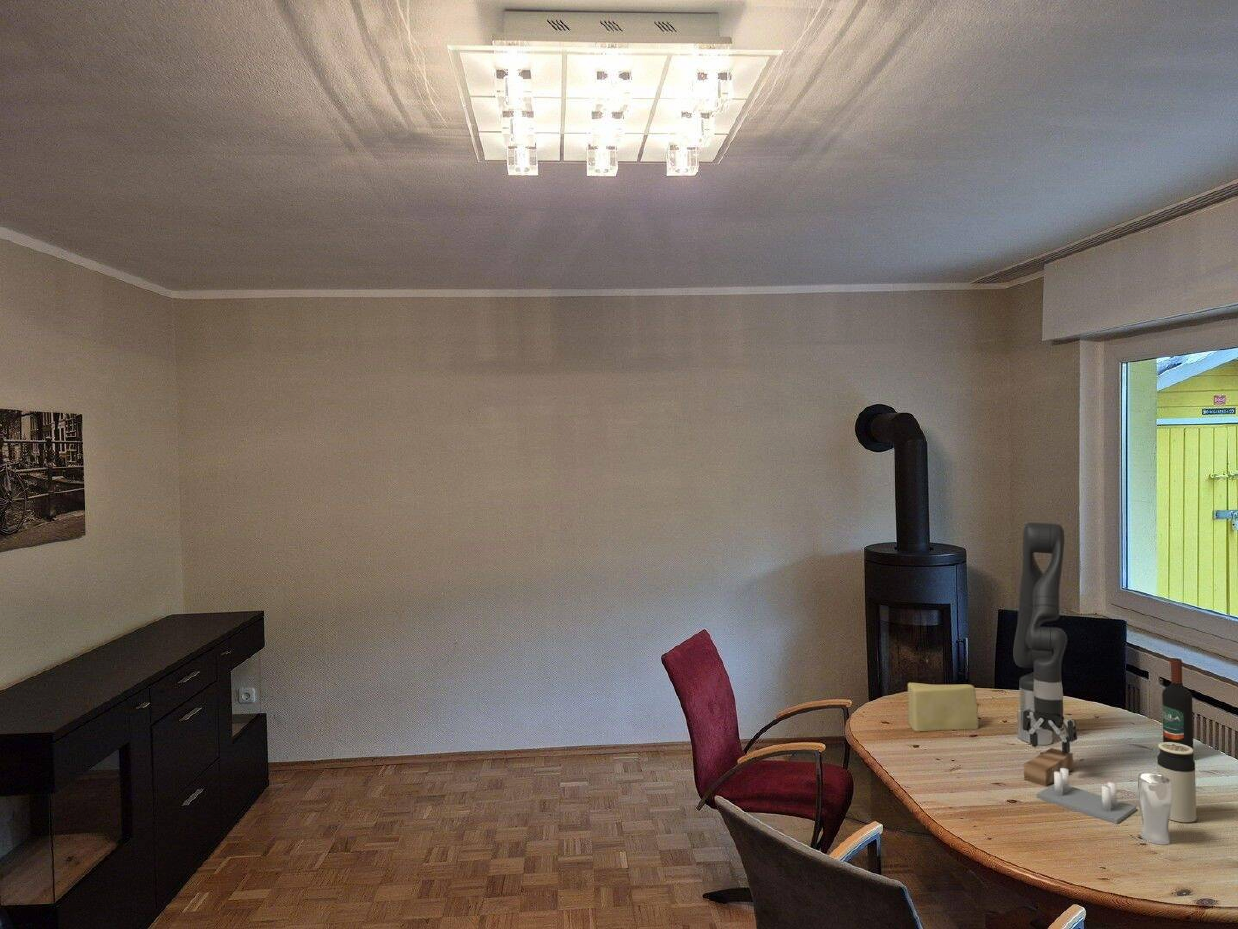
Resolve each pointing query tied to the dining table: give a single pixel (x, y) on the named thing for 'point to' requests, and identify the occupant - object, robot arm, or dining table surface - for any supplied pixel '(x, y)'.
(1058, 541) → the robot arm
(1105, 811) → the peg stand
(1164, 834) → the beer glass
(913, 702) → the cheese
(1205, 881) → the dining table surface
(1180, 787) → the travel mug
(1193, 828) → the dining table surface
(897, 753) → the dining table surface
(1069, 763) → the plank
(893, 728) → the dining table surface
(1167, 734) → the wine bottle
